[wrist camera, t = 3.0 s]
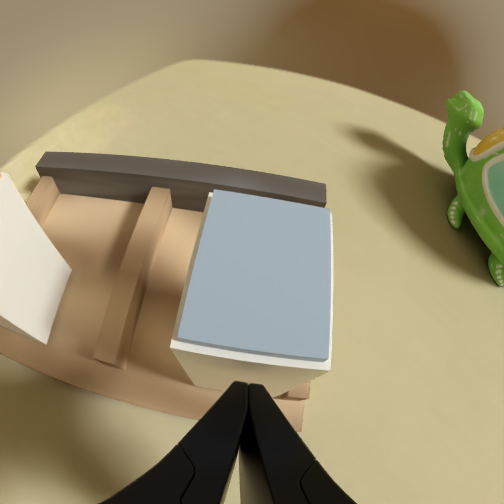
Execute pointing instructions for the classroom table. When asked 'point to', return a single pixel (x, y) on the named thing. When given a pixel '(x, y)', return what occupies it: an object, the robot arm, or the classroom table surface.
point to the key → (27, 269)
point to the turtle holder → (477, 177)
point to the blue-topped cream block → (257, 294)
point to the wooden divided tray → (133, 272)
